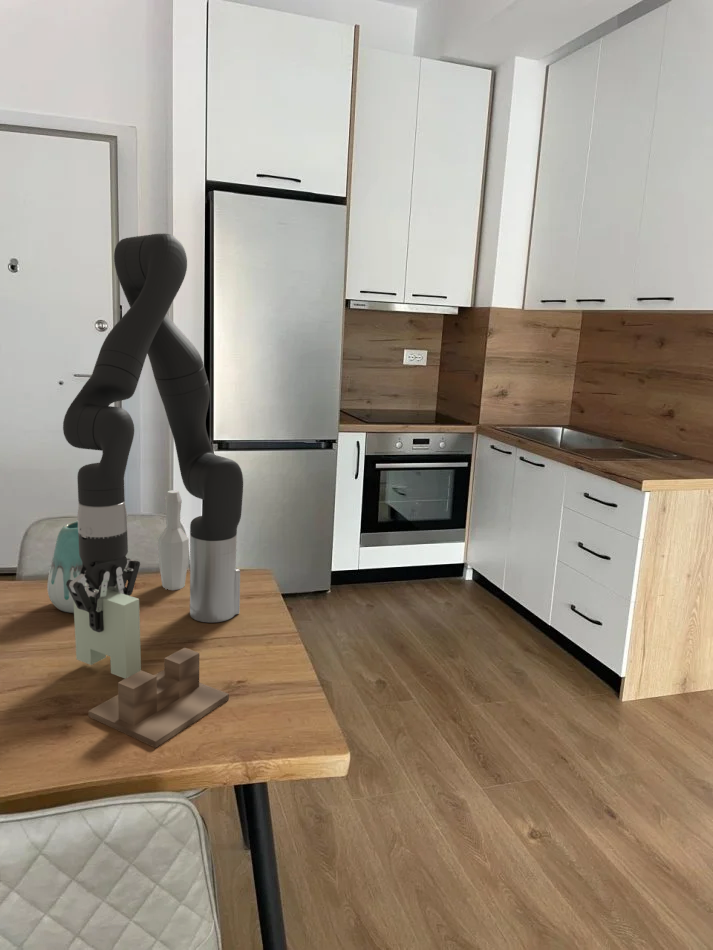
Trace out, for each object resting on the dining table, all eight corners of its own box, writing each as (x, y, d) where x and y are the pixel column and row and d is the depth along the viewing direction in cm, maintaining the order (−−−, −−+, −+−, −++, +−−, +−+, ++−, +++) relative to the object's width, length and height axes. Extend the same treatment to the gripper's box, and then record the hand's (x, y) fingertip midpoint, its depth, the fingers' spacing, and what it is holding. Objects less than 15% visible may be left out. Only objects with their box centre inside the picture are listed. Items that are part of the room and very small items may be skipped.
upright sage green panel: (91, 652, 125) (88, 582, 122) (141, 671, 120) (139, 598, 117) (76, 659, 123) (72, 588, 120) (126, 679, 117) (124, 605, 114)
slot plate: (165, 674, 122) (164, 636, 121) (228, 699, 116) (229, 659, 114) (88, 716, 109) (87, 674, 107) (155, 747, 102) (155, 703, 101)
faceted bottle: (193, 586, 161) (194, 492, 157) (170, 593, 156) (170, 496, 152) (176, 578, 165) (175, 486, 160) (153, 586, 160) (152, 491, 155)
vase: (43, 619, 141) (39, 532, 137) (53, 597, 152) (50, 515, 148) (105, 617, 143) (103, 531, 139) (111, 594, 154) (109, 515, 150)
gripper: (120, 514, 123) (123, 607, 127) (50, 534, 111) (55, 636, 115) (151, 522, 120) (154, 617, 124) (83, 544, 108) (88, 648, 112)
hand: (106, 626), depth 120 cm, fingers closed on upright sage green panel, 3 cm apart
